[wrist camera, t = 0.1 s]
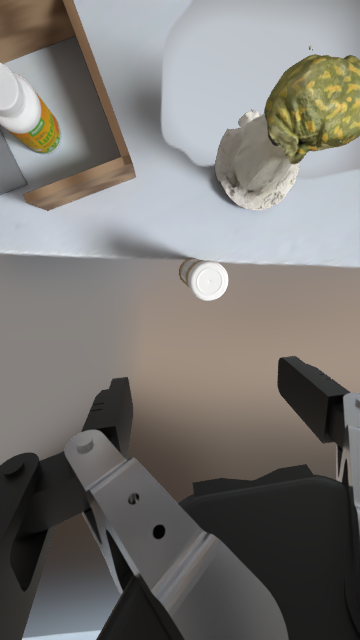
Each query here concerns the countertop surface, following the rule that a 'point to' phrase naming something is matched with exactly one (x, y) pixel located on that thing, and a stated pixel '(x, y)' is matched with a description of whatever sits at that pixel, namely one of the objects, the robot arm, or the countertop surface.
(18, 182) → the grey mat
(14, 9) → the open box
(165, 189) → the countertop surface
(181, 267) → the sprinkles bottle
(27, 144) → the supplement bottle
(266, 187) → the yellow capped ghost figurine
